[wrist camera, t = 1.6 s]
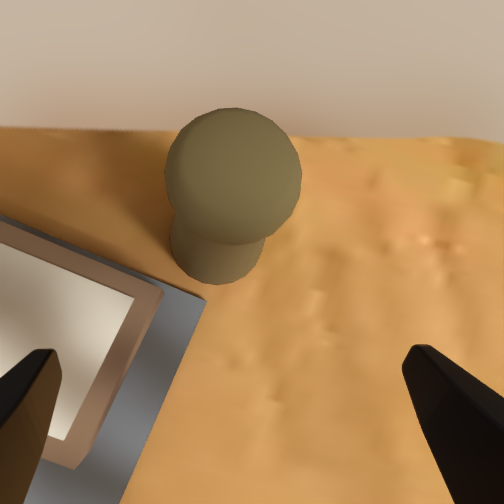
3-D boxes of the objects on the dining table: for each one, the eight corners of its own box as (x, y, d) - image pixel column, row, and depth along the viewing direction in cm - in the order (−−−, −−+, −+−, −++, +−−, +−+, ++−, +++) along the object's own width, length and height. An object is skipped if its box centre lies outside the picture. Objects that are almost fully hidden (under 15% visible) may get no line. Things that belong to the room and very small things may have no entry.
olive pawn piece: (149, 248, 21) (106, 168, 10) (206, 177, 23) (219, 47, 12) (228, 304, 21) (265, 281, 11) (279, 230, 23) (355, 146, 12)
